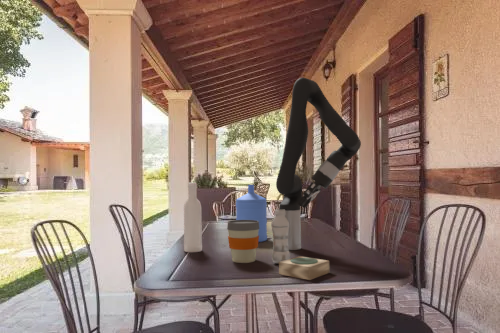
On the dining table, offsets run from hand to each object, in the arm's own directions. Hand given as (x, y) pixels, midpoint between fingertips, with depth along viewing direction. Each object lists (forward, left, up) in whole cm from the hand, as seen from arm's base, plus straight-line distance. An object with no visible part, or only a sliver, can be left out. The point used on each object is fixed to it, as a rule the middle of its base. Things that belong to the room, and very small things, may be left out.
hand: (301, 206), depth 164 cm
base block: (+17, -24, -20) cm, 35 cm away
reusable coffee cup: (-13, -21, -20) cm, 32 cm away
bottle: (-44, -20, -20) cm, 52 cm away
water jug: (-42, +17, -20) cm, 50 cm away
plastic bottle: (+2, -17, -20) cm, 26 cm away
